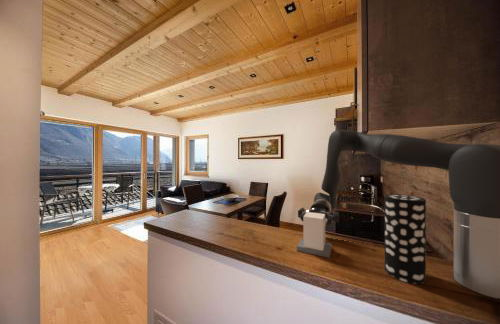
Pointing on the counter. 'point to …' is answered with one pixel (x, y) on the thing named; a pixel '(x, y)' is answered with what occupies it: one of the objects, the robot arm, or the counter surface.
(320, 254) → the base plate
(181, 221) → the counter surface
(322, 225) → the block
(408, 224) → the white-spotted black cylinder
